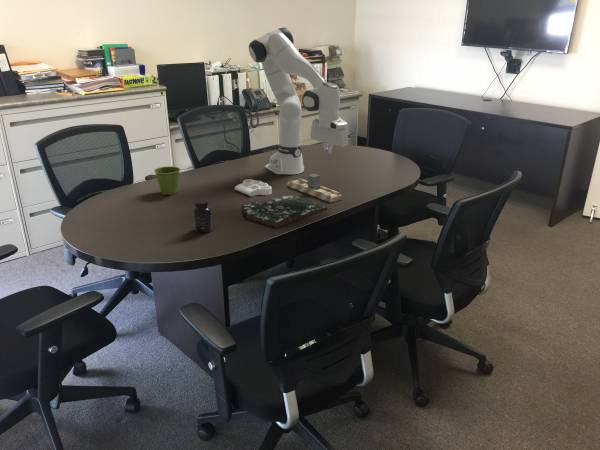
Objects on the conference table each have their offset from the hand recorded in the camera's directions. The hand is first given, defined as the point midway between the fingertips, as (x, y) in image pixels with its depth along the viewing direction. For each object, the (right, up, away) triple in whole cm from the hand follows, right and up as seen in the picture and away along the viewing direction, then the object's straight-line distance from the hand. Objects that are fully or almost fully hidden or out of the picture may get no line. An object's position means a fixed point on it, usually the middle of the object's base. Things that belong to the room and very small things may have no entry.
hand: (328, 152), depth 226 cm
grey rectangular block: (-6, -15, +13) cm, 20 cm away
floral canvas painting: (-21, -27, -7) cm, 35 cm away
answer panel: (-6, -17, +14) cm, 23 cm away
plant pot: (-74, -17, +12) cm, 77 cm away
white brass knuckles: (-34, -16, +16) cm, 41 cm away
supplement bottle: (-50, -34, -27) cm, 67 cm away
